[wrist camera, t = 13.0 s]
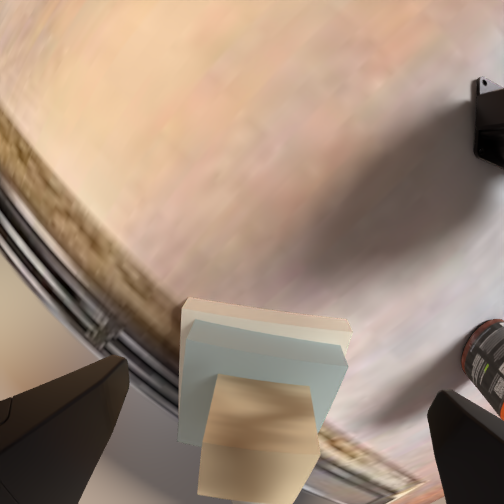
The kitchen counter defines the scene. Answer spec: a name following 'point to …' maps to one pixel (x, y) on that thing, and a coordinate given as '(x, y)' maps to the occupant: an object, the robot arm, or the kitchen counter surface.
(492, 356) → the supplement bottle
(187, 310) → the bottom block
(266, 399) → the maple cube
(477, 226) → the kitchen counter surface
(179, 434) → the top block
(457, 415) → the robot arm
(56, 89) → the kitchen counter surface
